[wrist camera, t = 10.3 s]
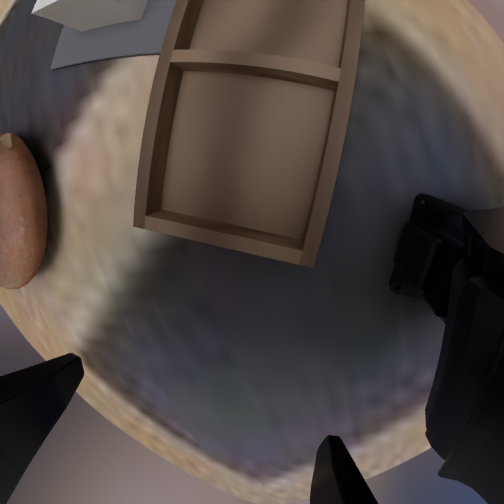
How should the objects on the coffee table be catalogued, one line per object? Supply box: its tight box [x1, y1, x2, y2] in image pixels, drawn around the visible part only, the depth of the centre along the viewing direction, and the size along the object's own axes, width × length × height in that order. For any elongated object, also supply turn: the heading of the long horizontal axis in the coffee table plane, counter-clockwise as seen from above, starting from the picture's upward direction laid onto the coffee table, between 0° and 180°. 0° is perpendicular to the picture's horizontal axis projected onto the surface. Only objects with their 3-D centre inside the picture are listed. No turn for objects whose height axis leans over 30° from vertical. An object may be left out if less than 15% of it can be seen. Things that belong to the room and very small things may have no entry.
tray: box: [133, 0, 365, 268], centre depth 13 cm, size 11×20×2 cm, turn 170°
